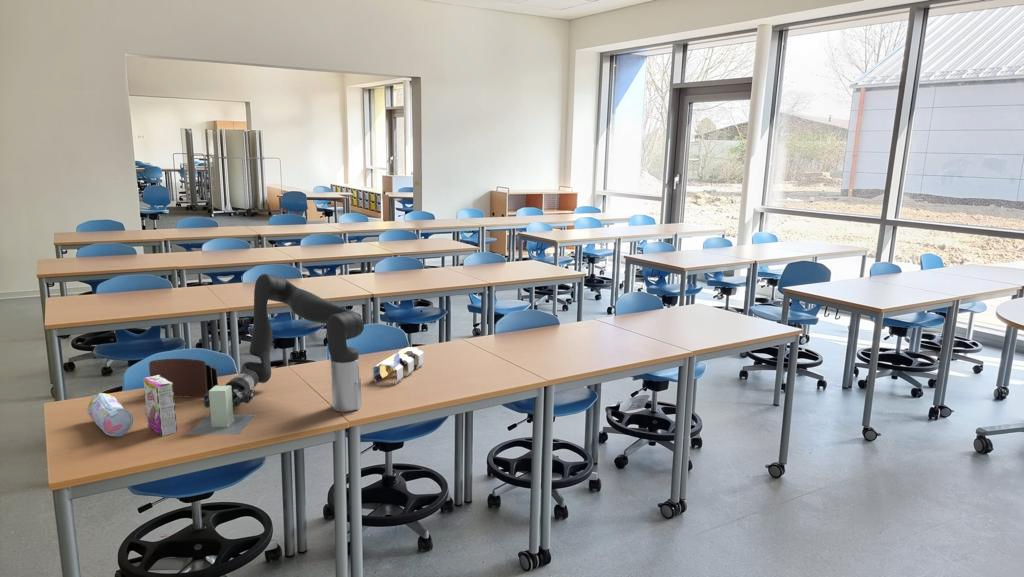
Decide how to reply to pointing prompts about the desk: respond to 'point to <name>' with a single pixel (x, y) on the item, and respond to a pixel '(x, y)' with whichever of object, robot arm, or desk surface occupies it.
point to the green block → (221, 406)
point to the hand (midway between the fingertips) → (220, 404)
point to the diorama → (399, 363)
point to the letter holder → (186, 375)
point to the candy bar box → (160, 405)
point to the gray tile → (233, 428)
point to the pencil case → (109, 415)
